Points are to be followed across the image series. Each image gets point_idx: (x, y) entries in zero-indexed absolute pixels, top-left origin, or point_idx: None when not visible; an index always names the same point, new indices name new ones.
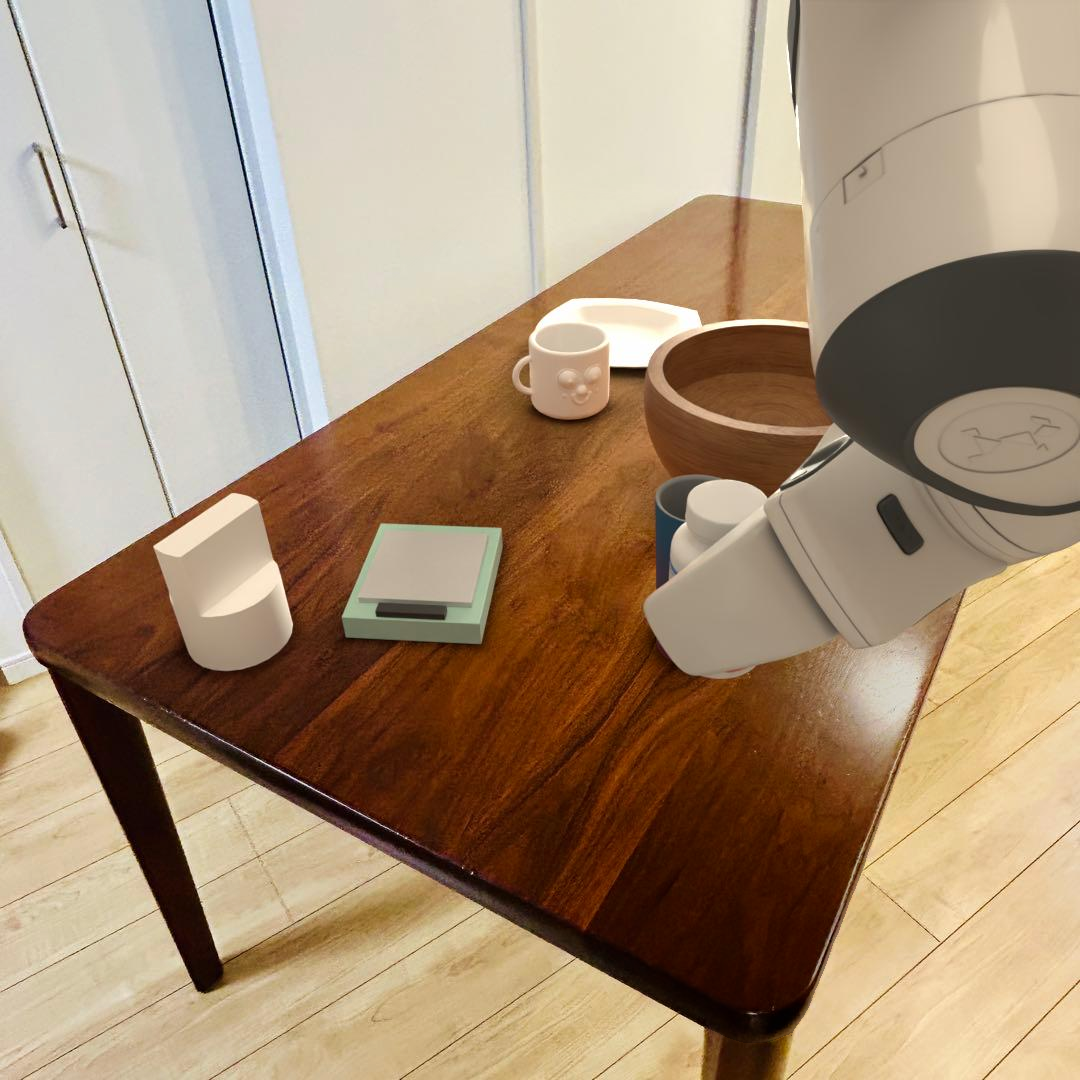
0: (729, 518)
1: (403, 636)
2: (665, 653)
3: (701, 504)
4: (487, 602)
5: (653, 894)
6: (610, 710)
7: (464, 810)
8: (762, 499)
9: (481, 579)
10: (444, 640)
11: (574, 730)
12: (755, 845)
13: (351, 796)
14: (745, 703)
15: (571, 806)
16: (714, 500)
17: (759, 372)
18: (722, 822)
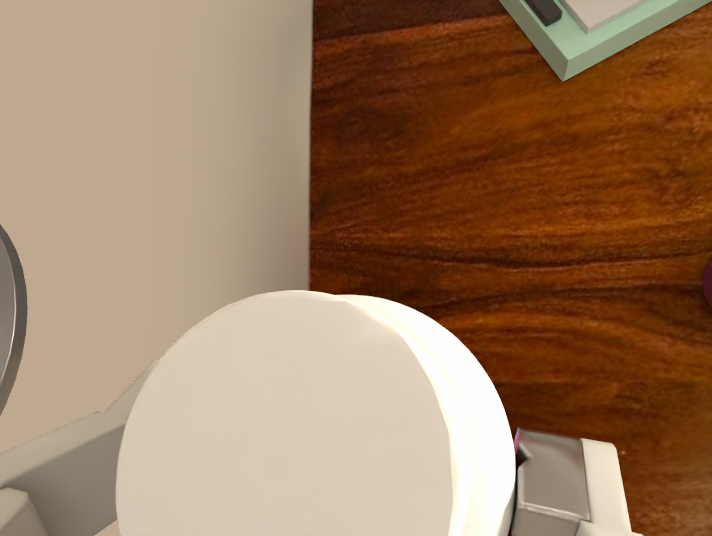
0: (152, 526)
1: (511, 12)
2: (705, 272)
3: (201, 374)
4: (620, 41)
5: None
6: (566, 263)
7: (356, 214)
8: None
9: (643, 7)
10: (538, 48)
11: (511, 245)
12: None
13: (316, 123)
14: (698, 408)
15: (417, 299)
16: (254, 409)
17: None
18: None
